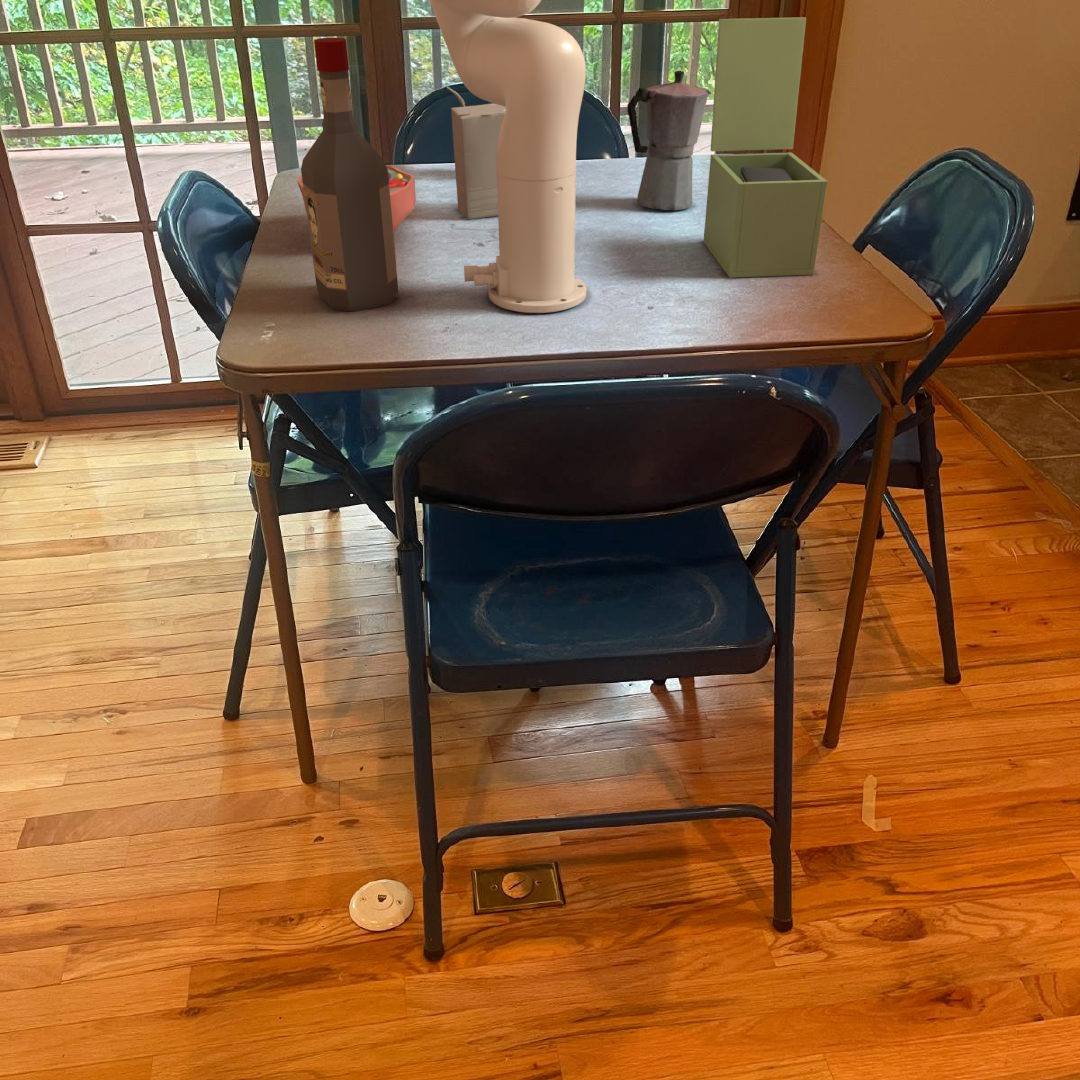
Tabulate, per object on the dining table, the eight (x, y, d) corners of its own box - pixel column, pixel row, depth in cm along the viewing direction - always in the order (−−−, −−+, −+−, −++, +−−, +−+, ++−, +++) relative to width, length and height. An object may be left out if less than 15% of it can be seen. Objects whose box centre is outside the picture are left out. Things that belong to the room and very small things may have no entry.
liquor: (380, 281, 134) (355, 32, 117) (404, 303, 127) (382, 42, 111) (313, 292, 131) (278, 37, 114) (334, 315, 124) (301, 48, 107)
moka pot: (718, 204, 163) (731, 70, 152) (645, 220, 156) (652, 81, 145) (680, 191, 170) (689, 62, 158) (608, 206, 163) (612, 72, 151)
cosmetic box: (504, 204, 164) (502, 100, 155) (517, 216, 158) (515, 109, 149) (454, 209, 162) (449, 104, 153) (465, 221, 156) (460, 113, 147)
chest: (813, 274, 135) (827, 181, 128) (729, 278, 134) (738, 183, 127) (780, 239, 148) (791, 152, 141) (703, 241, 147) (710, 154, 140)
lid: (806, 17, 132) (804, 17, 133) (720, 19, 132) (718, 19, 132) (793, 149, 140) (791, 148, 141) (711, 151, 140) (710, 150, 140)
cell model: (306, 261, 141) (294, 178, 135) (304, 220, 157) (293, 145, 151) (425, 253, 144) (420, 171, 137) (411, 213, 160) (406, 139, 154)
